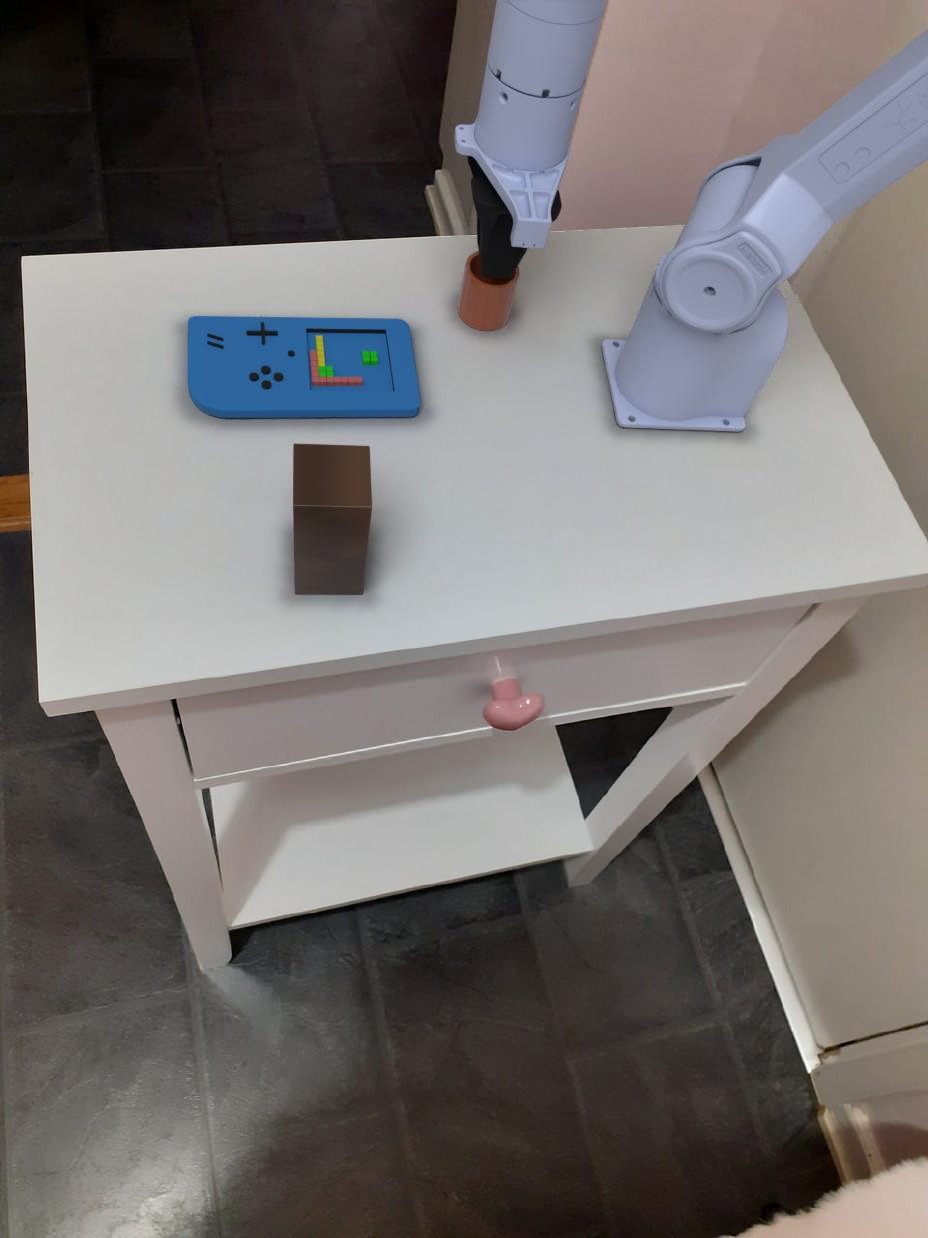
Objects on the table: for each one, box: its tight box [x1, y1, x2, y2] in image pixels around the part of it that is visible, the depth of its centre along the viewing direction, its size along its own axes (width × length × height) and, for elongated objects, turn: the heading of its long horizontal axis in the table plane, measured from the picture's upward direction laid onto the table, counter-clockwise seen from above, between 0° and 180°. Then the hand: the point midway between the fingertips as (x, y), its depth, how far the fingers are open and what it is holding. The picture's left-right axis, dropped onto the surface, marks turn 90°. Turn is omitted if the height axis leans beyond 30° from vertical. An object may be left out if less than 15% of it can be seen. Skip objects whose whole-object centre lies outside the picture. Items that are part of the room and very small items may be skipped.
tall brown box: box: [292, 443, 373, 596], centre depth 52 cm, size 4×4×9 cm
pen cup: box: [457, 250, 521, 332], centre depth 66 cm, size 4×4×4 cm
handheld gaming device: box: [187, 315, 422, 419], centre depth 62 cm, size 8×1×15 cm
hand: (494, 262), depth 64 cm, fingers closed
